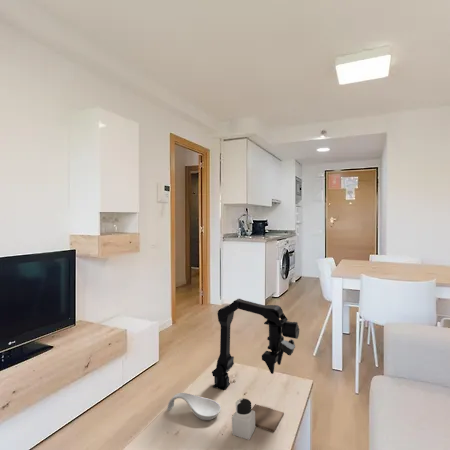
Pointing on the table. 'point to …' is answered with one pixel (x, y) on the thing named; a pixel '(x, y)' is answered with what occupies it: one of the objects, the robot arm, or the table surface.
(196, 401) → the spoon rest
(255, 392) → the table surface
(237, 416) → the medicine bottle
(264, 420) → the walnut board
